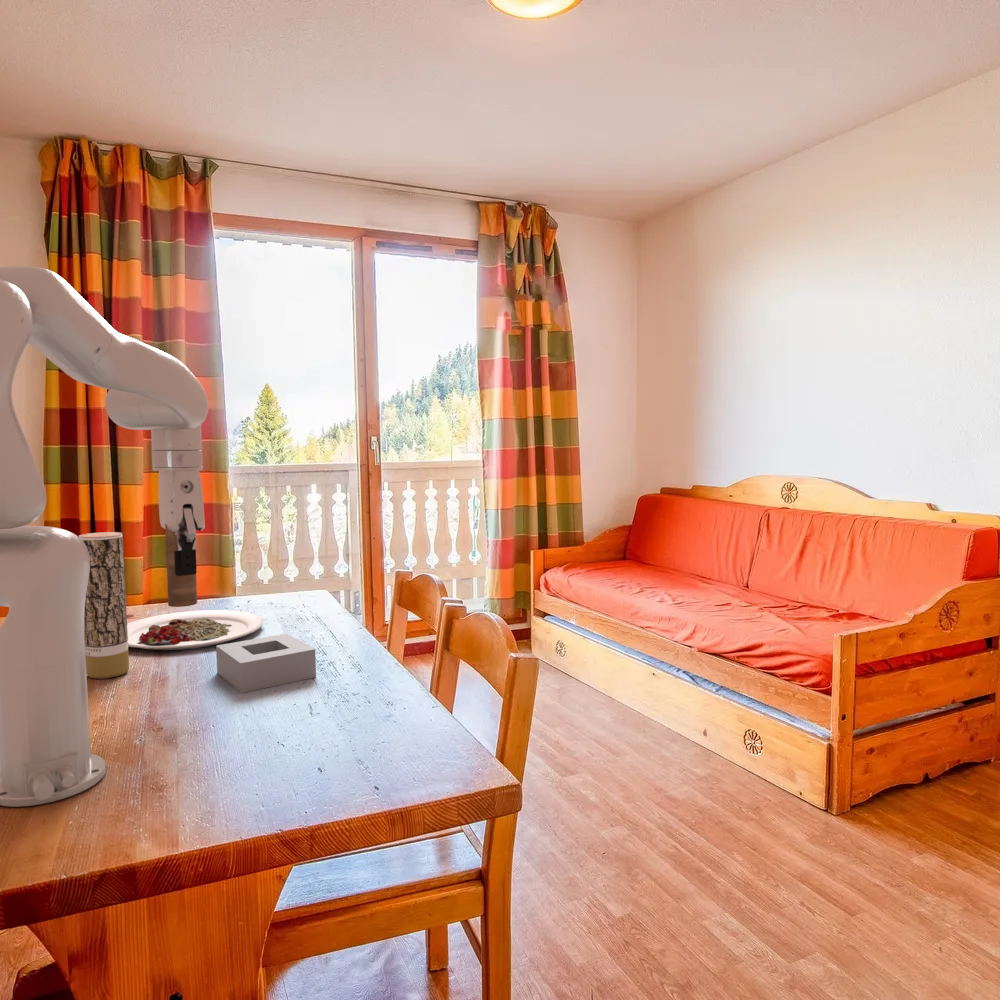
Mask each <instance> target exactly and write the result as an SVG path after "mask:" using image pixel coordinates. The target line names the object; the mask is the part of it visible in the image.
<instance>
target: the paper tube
mask: <svg viewBox="0 0 1000 1000" xmlns="http://www.w3.org/2000/svg"><path fill="white" fill-rule="evenodd" d="M78 537H79V538H80V539H81V540H82V541H83V542H84V543H85V545H86V547H87V549H88V552H89V556H90V572H89V579H88V585H87V590H86V598H85V609H84V637H85V656H86V674H87V677H89V678H91V679H97V680H102V679H112V678H116V677H119V676H122V675H124V674H126V673H128V671H129V669H130V660H129V659H130V658H129V647H128V632H127V623H128V620H127V619H128V616H127V614H128V613H127V596H126V592H127V591H126V577H125V575H126V574H125V556H124V553H125V552H124V539H123V537H124V535H123V532H121V531H119V532H118V531H117V532H116V531H111V532H110V531H104V532H91V533H83V534H80V535H78Z"/></svg>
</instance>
